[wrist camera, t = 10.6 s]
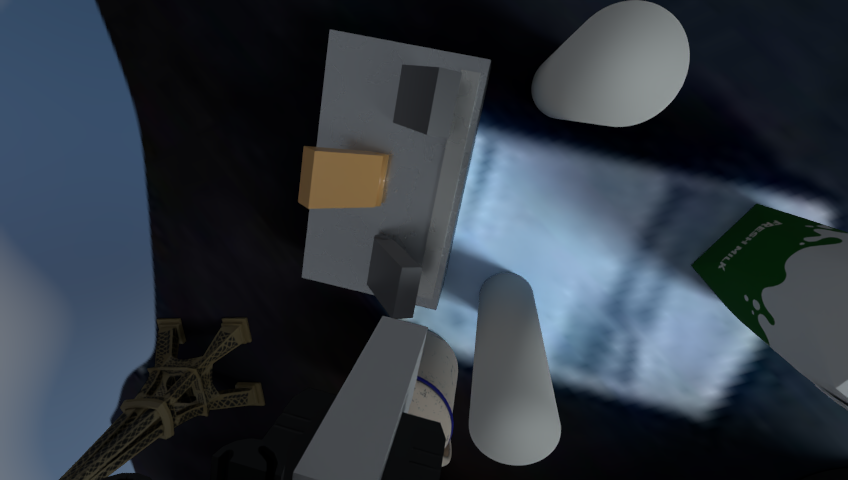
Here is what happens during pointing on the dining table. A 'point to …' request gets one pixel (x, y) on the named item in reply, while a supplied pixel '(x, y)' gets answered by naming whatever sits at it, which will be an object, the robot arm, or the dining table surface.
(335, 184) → the block
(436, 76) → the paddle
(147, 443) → the eiffel tower
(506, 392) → the post far
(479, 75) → the block
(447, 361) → the teacup with lid
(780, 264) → the milk carton
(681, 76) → the post near
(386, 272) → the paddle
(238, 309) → the dining table surface
